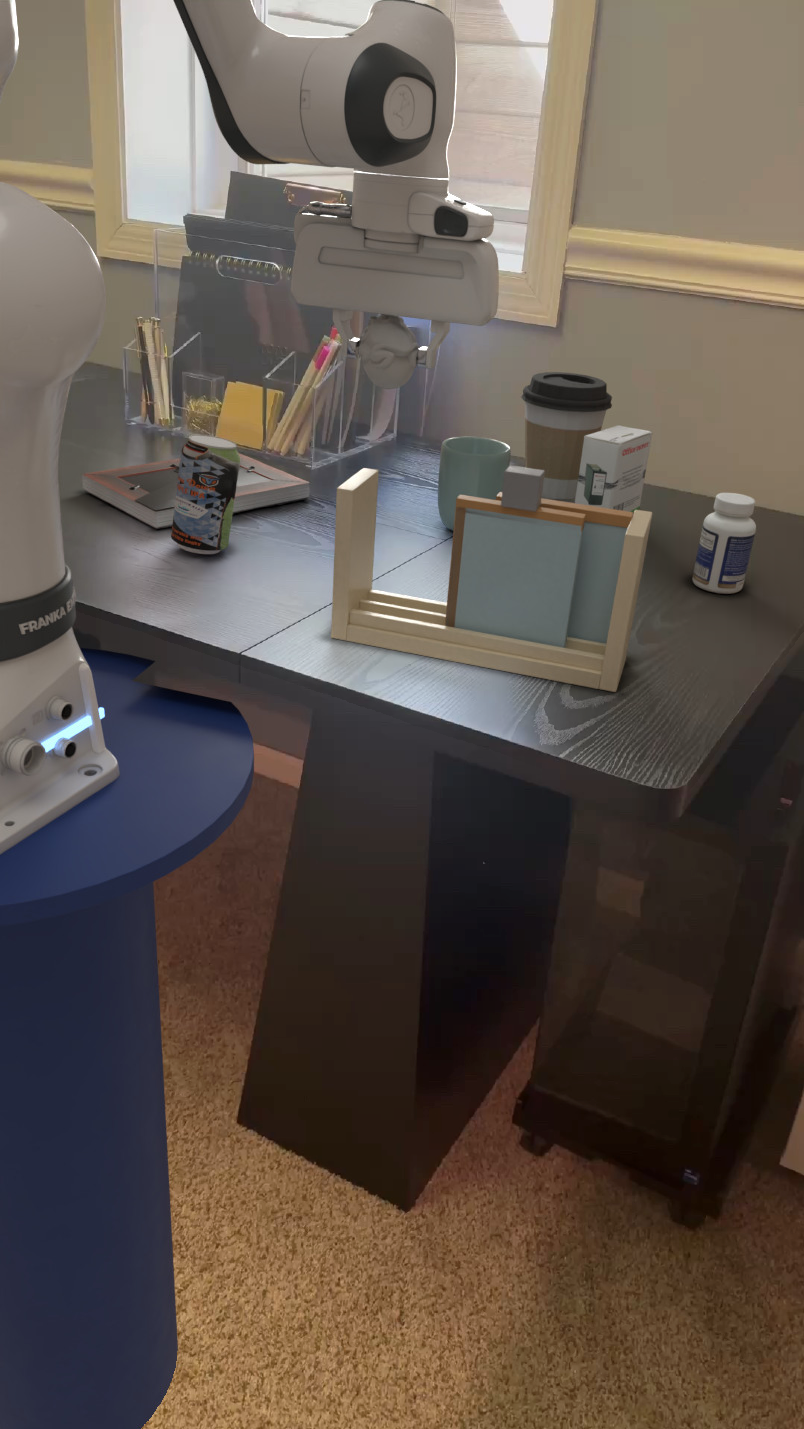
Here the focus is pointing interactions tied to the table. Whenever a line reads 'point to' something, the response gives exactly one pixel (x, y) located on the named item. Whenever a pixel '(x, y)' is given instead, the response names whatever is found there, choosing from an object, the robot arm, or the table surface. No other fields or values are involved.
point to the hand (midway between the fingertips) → (388, 362)
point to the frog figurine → (388, 351)
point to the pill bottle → (725, 544)
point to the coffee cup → (561, 427)
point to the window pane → (514, 563)
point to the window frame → (421, 630)
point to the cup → (469, 472)
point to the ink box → (613, 468)
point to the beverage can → (205, 494)
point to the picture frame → (155, 488)
